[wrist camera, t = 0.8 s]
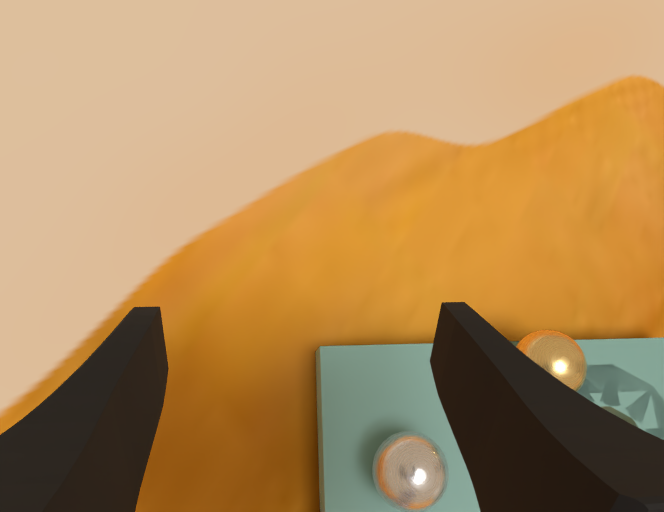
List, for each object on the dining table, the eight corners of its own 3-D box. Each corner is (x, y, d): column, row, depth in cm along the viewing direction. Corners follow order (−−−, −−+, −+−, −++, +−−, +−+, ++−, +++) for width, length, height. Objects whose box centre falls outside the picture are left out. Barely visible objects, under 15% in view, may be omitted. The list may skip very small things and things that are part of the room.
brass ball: (571, 400, 25) (607, 398, 22) (506, 402, 25) (533, 401, 22) (560, 333, 26) (594, 324, 23) (497, 336, 26) (523, 326, 23)
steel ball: (438, 503, 23) (464, 517, 20) (368, 508, 23) (383, 523, 20) (432, 428, 24) (455, 430, 21) (364, 431, 24) (378, 434, 21)
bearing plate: (322, 594, 24) (328, 614, 22) (315, 351, 27) (319, 346, 25) (698, 563, 26) (741, 578, 24) (652, 343, 29) (686, 337, 27)
